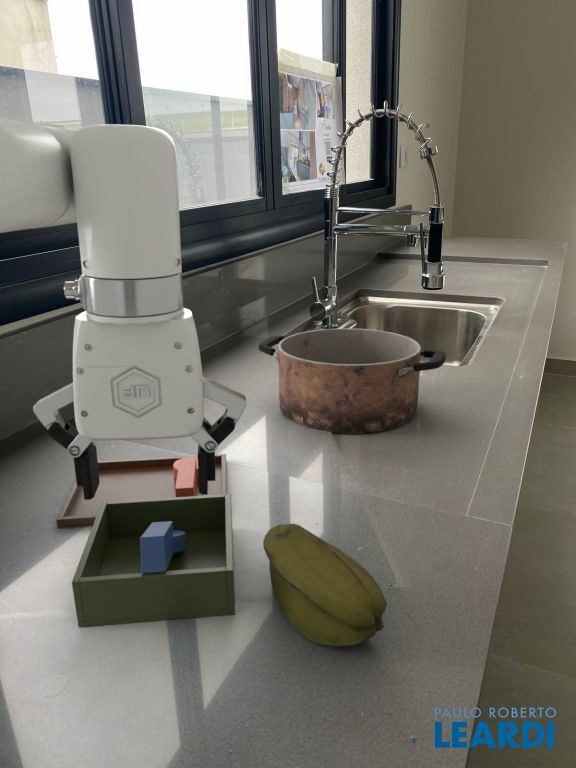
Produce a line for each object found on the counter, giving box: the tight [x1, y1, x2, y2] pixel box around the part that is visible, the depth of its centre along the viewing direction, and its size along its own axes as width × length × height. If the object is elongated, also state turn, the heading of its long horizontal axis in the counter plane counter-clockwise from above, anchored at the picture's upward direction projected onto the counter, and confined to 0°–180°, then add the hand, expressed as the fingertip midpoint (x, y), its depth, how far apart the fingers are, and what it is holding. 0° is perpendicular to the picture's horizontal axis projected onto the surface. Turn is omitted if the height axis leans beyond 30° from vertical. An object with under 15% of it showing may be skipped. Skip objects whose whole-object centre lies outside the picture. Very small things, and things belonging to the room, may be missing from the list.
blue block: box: [140, 521, 186, 574], centre depth 56 cm, size 4×11×3 cm, turn 6°
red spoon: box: [173, 457, 199, 497], centre depth 72 cm, size 4×11×3 cm, turn 6°
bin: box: [71, 493, 236, 628], centre depth 57 cm, size 13×13×4 cm
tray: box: [55, 453, 228, 529], centre depth 72 cm, size 18×14×1 cm
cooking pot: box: [257, 327, 447, 435], centre depth 97 cm, size 30×22×11 cm
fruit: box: [262, 523, 388, 647], centre depth 51 cm, size 11×12×7 cm
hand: (148, 489), depth 53 cm, fingers open, 9 cm apart
